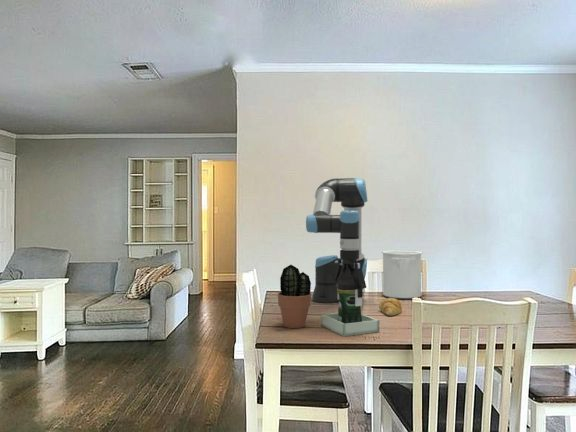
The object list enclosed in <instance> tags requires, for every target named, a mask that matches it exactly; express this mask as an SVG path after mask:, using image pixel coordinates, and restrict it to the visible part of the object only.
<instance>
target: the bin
mask: <svg viewBox="0 0 576 432" xmlns="http://www.w3.org/2000/svg"><path fill="white" fill-rule="evenodd" d="M361 316H362V322H355V323H346V324H344V323H342V322H340V321H337V319H338V312H335V313H334V312H333V313H327V314H326V313H324V314H321V315H320V326H321V327H323V328H324V329H327V330H329V331H331V332H333V333H336V334H338V335H340V336H342V337H349V336H357V335H366V334H367V335H368V334H373V333H374V334H375V333H380V320H379V319H378V318H375V317H371V316H368V315H366V314H363V313H361Z"/></svg>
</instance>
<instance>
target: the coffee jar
mask: <svg viewBox="0 0 576 432" xmlns="http://www.w3.org/2000/svg"><path fill="white" fill-rule="evenodd" d="M355 288H356V286H355V283H354V281H353V279H348V280H339V281H338V286H337V291H338V294H339V302H338V310H337V313H338V319H337V321H340V322H342V323H344V324H346V323H355V322H362V316H361V314H362V310H361V309H362V308H361V307H362V306H355Z"/></svg>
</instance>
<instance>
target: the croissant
mask: <svg viewBox="0 0 576 432" xmlns="http://www.w3.org/2000/svg"><path fill="white" fill-rule="evenodd" d="M379 310H380V311H381V312H382V313H383V314H385V315H386V316H389V317H390V316H396V315H399V314H401V313H402V310H403V308H402V304H401V302H400V300H399V299H395V298H385V299H382V301H381V302H380V303H379Z"/></svg>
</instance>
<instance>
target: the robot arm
mask: <svg viewBox="0 0 576 432" xmlns="http://www.w3.org/2000/svg"><path fill="white" fill-rule="evenodd" d="M367 195H368V193H367V185H366V180H365V179H364V178H357V177H350V178H349V177H347V178H346V177H345V178H330V179H327V180H325V181H324V182H322V183H321V184H320V185H319V186H318V187H317V189H316V190H315V194H314V198H315V203H314V206H313V211H312V214H308V215H307V216H306V220H305V227H306V228H305V230H306V232H308V233H314V234H321V233H324V234H326V233H327V234H330V233H332V234H339V235H340V236H339V240H340V241H339V245H340V246H339V248H340V250H339V257H338V255H333V254H332V255H324V256H319V257H317V258H316V259H315V266H314V268H315V286H314V289H313V292H312V294H311V302H312V301H313V302H316V303H320V304H321V303H325V304H333V303H339V294H338V291H337V286H338V281H339V280H348V279H353V281H354V283H355V286H356V288H355V306H360V307H362V306H363V294H364V293H363V291H364V289H366V288H367V284H366V281H365V279H366V274H367V267H368V266H367V265H368V258H365V254H364V253H362V209H363V207H365V204H366V203H367V202H368V196H367ZM333 203H340V206H341V207H342V208H343V210H341V211H340V214H331V211H332V204H333Z"/></svg>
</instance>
